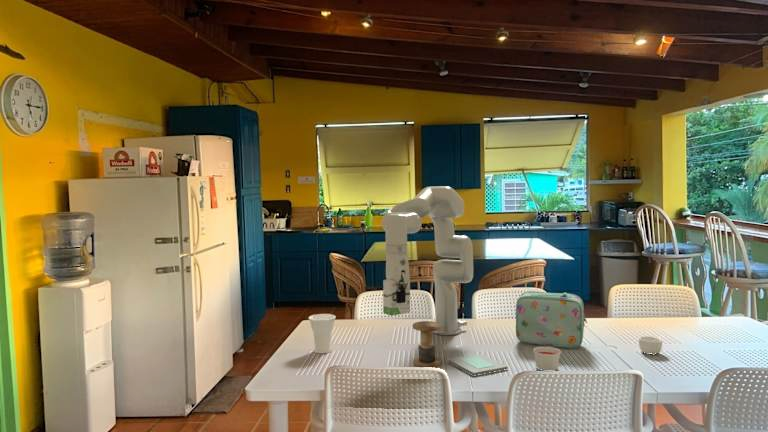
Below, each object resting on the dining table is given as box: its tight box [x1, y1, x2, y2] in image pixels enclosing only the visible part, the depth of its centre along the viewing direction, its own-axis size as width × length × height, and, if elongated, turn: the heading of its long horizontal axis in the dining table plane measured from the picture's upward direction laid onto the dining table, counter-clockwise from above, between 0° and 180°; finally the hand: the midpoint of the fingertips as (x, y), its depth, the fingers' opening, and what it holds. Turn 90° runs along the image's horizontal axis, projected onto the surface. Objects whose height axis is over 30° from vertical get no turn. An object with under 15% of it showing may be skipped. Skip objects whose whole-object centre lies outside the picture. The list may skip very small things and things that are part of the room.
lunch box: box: [515, 290, 588, 349], centre depth 211 cm, size 27×10×21 cm, turn 65°
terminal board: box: [447, 353, 508, 377], centre depth 187 cm, size 14×16×1 cm
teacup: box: [638, 335, 663, 354], centre depth 200 cm, size 10×8×5 cm
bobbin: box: [412, 320, 442, 368], centre depth 191 cm, size 10×10×14 cm
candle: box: [533, 346, 562, 371], centre depth 184 cm, size 9×9×6 cm
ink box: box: [382, 278, 411, 317], centre depth 186 cm, size 9×5×12 cm, turn 123°
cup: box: [308, 313, 336, 354], centre depth 207 cm, size 10×10×14 cm
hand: (397, 300), depth 186 cm, fingers closed on ink box, 5 cm apart
